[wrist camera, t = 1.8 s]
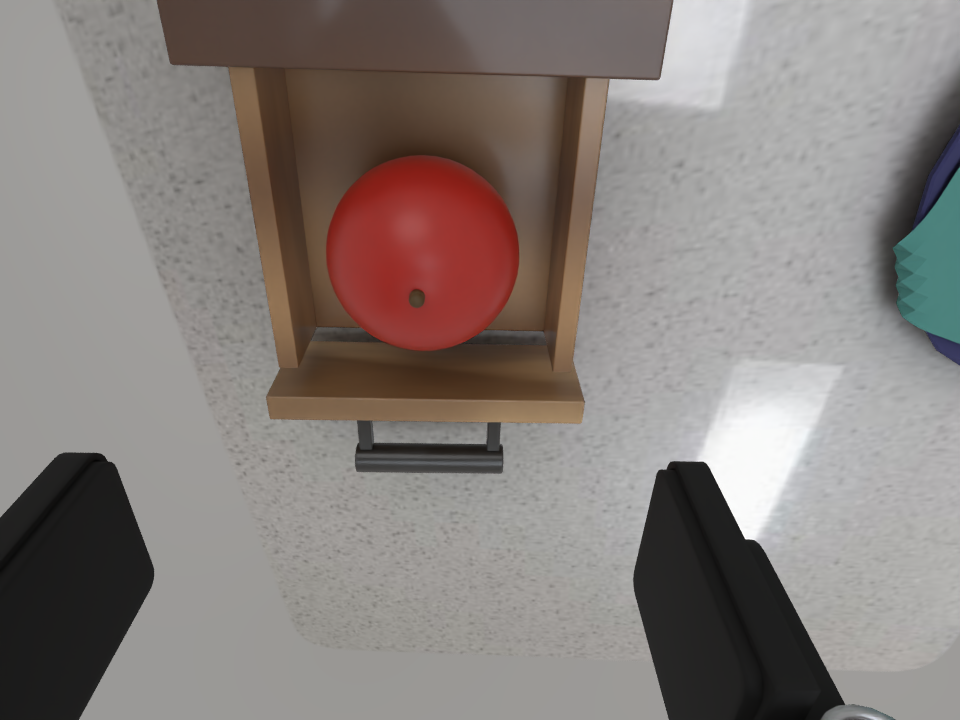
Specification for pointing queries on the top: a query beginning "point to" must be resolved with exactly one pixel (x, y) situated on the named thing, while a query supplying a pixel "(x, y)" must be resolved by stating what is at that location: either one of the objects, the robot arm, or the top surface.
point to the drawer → (434, 132)
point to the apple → (422, 253)
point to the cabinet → (424, 36)
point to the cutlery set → (934, 257)
